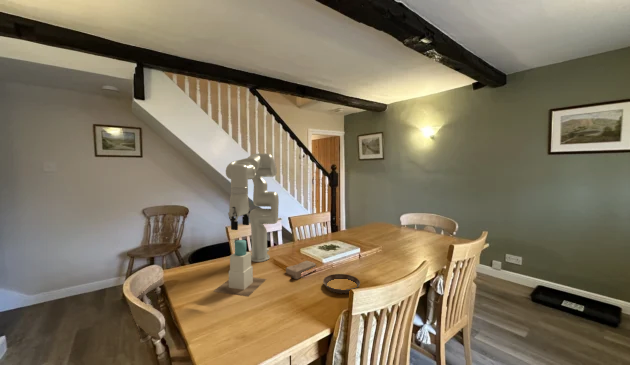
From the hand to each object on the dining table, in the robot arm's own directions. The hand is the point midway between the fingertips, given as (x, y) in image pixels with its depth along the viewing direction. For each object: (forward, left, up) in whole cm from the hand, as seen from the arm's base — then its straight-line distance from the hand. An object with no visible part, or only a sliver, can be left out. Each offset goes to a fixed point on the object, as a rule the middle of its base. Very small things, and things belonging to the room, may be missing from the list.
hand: (240, 227), depth 121 cm
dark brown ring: (-14, +46, -30) cm, 57 cm away
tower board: (0, 0, -29) cm, 29 cm away
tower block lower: (0, 0, -28) cm, 28 cm away
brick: (-24, +22, -30) cm, 44 cm away
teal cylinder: (0, 0, -13) cm, 13 cm away
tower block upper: (0, 0, -20) cm, 20 cm away
